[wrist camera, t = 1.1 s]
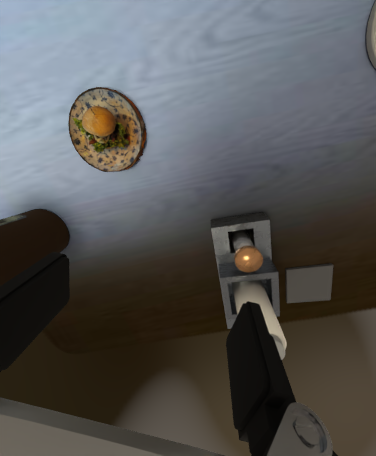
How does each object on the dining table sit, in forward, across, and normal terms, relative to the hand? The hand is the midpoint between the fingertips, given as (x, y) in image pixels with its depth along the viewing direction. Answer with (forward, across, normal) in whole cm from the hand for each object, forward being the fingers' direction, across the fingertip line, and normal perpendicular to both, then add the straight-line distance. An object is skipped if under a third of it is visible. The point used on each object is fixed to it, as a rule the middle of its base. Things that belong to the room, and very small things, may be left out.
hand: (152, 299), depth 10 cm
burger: (+26, +15, -6) cm, 30 cm away
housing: (+25, -13, +12) cm, 31 cm away
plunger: (+23, -10, +4) cm, 25 cm away
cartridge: (+21, -13, +12) cm, 27 cm away
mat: (+25, -26, +11) cm, 38 cm away
